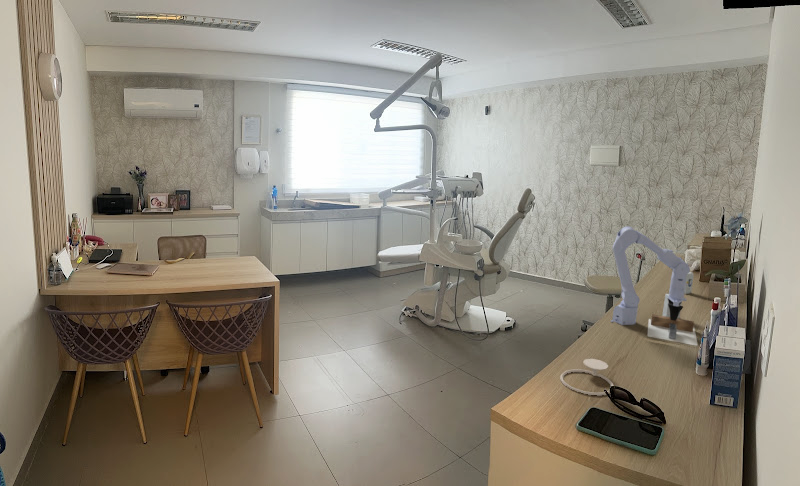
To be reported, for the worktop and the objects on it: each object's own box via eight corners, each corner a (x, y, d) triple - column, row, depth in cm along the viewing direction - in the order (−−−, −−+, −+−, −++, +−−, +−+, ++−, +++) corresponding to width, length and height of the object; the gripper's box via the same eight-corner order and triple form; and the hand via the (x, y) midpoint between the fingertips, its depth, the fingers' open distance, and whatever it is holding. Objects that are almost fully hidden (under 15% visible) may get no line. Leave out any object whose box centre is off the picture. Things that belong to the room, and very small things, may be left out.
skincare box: (674, 318, 223) (678, 294, 220) (679, 321, 218) (683, 297, 216) (661, 317, 223) (665, 293, 221) (665, 320, 219) (669, 296, 217)
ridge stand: (697, 348, 189) (699, 336, 188) (647, 338, 198) (648, 327, 197) (693, 328, 210) (695, 318, 209) (648, 320, 218) (649, 310, 217)
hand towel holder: (553, 372, 156) (575, 352, 172) (551, 384, 157) (574, 364, 172) (606, 390, 145) (625, 367, 161) (604, 403, 146) (623, 379, 162)
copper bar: (650, 324, 211) (652, 316, 210) (650, 322, 213) (652, 314, 212) (692, 332, 203) (693, 323, 203) (692, 329, 206) (693, 321, 205)
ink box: (691, 293, 263) (694, 273, 261) (685, 294, 261) (688, 273, 259) (677, 289, 271) (680, 269, 269) (671, 290, 269) (674, 269, 267)
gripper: (689, 293, 196) (684, 324, 199) (687, 285, 209) (682, 314, 212) (669, 290, 200) (665, 321, 202) (669, 282, 212) (664, 311, 215)
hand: (673, 317), depth 207 cm, fingers open, 7 cm apart
